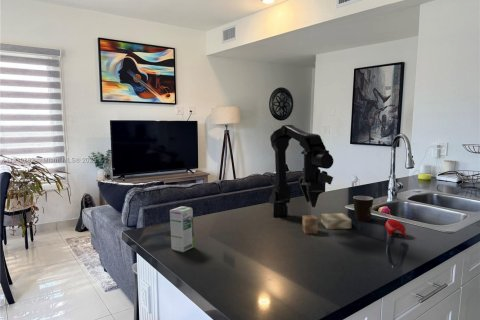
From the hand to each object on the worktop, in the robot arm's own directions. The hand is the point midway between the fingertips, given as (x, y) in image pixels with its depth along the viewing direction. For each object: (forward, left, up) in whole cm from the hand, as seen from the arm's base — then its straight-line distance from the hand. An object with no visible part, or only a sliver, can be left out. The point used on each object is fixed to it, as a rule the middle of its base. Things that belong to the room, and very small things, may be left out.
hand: (310, 204), depth 131 cm
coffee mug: (+29, +16, -11) cm, 35 cm away
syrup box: (-49, -16, -11) cm, 53 cm away
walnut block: (0, 0, -11) cm, 11 cm away
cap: (+32, -6, -11) cm, 34 cm away
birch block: (+13, +8, -12) cm, 19 cm away
